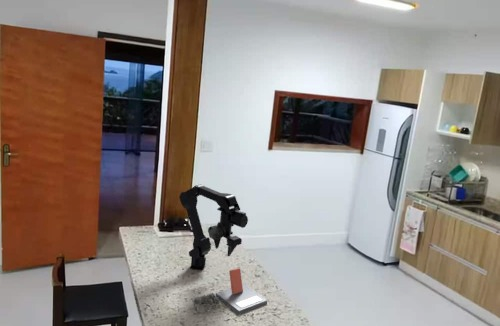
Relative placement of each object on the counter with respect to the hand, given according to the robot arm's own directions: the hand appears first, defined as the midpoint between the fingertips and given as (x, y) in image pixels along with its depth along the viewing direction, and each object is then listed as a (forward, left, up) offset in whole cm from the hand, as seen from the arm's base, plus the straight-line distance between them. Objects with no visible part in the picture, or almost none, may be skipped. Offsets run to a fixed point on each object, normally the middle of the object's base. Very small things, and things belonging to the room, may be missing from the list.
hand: (222, 252), depth 189 cm
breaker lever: (+10, -15, -11) cm, 21 cm away
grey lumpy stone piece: (-3, -26, -13) cm, 30 cm away
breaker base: (+12, -17, -13) cm, 25 cm away
